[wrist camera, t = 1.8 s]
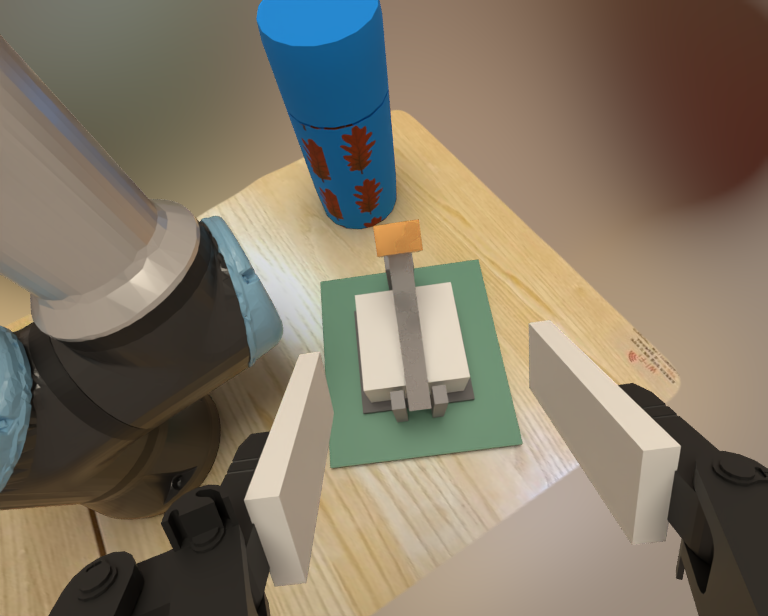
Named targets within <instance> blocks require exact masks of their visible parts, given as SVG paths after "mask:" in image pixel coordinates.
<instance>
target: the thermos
mask: <svg viewBox="0 0 768 616" xmlns="http://www.w3.org/2000/svg"><path fill="white" fill-rule="evenodd" d="M257 24H258V28H259V32H260V36H261V40H262V43H263V46H264V49H265V51H266V54H267V57H268V60H269V62H270V65H271V68H272V70H273V73H274V76H275V79H276V82H277V84H278V87H279V90H280V93H281V95H282V98H283V100H284V104H285V106H286V109H287V112H288V115H289V117H290V120H291V123H292V125H293V128H294V131H295V134H296V137H297V139H298V142H299V145H300V147H301V150H302V153H303V156H304V158H305V161H306V164H307V167H308V169H309V172H310V175H311V178H312V180H313V183H314V186H315V189H316V191H317V193H318V196H319V198H320V200H321V203H322V205H323V207H324V209H325V211H326V214H327V216H328V217H329V218H330V219H331V220H332V221H334V222H335V223H336V224H338V225H340V226H343V227H345V228H352V229H362V228H367V227H371V226H374V225H376V224H377V223H379V222H381V221H383V220H384V219H385V218H386V217H387V216H388V215H389V214H390V213H391V211H392V210H393V207H394V205H395V202H396V172H395V160H394V148H393V136H392V124H391V113H390V101H389V90H388V78H387V65H386V54H385V42H384V31H383V19H382V11H381V6H380V1H379V0H262V2H261V3H260V4H259V6H258V12H257Z"/></svg>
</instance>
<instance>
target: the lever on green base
mask: <svg viewBox="0 0 768 616" xmlns="http://www.w3.org/2000/svg"><path fill="white" fill-rule="evenodd" d="M411 258H412V253H411ZM384 261H385V269H386V273H379V274H372V275H365V276H358V277H351V278H344V279H337V280H330V281H323V282H321V301H322V319H323V338H324V356H325V375H326V380H327V385H328V389H329V394H330V398H331V403H332V407H333V411H334V416H333V422H332V428H331V434H330V440H329V449H330V468H339V467H347V466H355V465H363V464H371V463H379V462H387V461H395V460H403V459H411V458H419V457H427V456H435V455H443V454H451V453H459V452H467V451H475V450H483V449H491V448H499V447H507V446H515V445H521V444H523V443H522V439H521V435H520V430H519V426H518V422H517V418H516V414H515V410H514V405H513V401H512V397H511V393H510V389H509V385H508V381H507V376H506V372H505V368H504V364H503V360H502V356H501V352H500V347H499V343H498V339H497V335H496V331H495V327H494V322H493V318H492V314H491V310H490V306H489V302H488V298H487V293H486V289H485V285H484V281H483V277H482V273H481V269H480V264H479V260H471V261H464V262H457V263H450V264H443V265H436V266H429V267H422V268H415V269H414V265H413V259H412V266H413V273H414V281H415V288H416V296H417V303H418V311H419V318H420V326H421V333H422V341H423V348H424V356H425V363H426V371H427V378H428V386H429V393H430V401H431V409H423V410H415V411H409V404H408V397H407V389H406V382H405V375H404V368H403V361H402V354H401V346H400V339H399V332H398V325H397V318H396V310H395V303H394V296H393V289H392V282H391V275H390V267H389V260H388V256H384Z"/></svg>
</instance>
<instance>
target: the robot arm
mask: <svg viewBox="0 0 768 616" xmlns="http://www.w3.org/2000/svg"><path fill="white" fill-rule="evenodd" d="M0 274H1V275H2V276H4V277H5V278H7V279H9V280H10V281H12V282H14V283H15V284H17V285H19V286H20V287H22V288H23V289H25V290H27V291H28V292H30V296H31V298H30V299H31V314H32V318H33V321H34V322H33V323H31V324H29V325H28V326H26V327H24V328H23V329H21V330H18V331H15V332H12V331H11V330H9V329H7V328H5V327H2V326H0V510H9V509H22V508H35V507H47V506H60V505H73V504H81V505H84V506H86V507H88V508H90V509H92V510H94V511H97V512H99V513H101V514H103V515H105V516H108V517H111V518H116V519H140V518H147V517H152V516H156V515H159V514H162V513H165V514H164V517H163V519H162V522H161V525H162V527H163V529H164V531H165V533H166V535H167V537H168V539H169V541H170V544H171V546H172V548H173V549H171V550H169V551H167V552H165V553H163V554H160V555H158V556H155V557H152V558H150V559H147V560H145V561H142V562H140V563H137V564H136V562H135V560H134V558H133V556H132V555H131V554H129V553H127V552H125V551H123V552H113V553H110V554H107V555H105V556H102V557H100V558H98V559H96V560H95V561H93V562H92V563H90V564H88V565H87V566H85V567H84V568H83V569H82V570H81V571H80V572H79V573H78V574H77V575H75V576H74V577H73V578H72V580H71V581H70V582H69V584H68V585H67V586H66V587H65V589H64V590H63V592H62V593H61V595H60V597H59V598H58V600H57V602H56V604H55V605H54V607H53V609H52V610H51V612H50V614H49V616H270V610H269V603H268V600H267V597H266V595H265V592H264V590H265V586H266V582H267V578H268V574H269V572H270V574H271V577H272V580H273V583H274V586H284V585H293V584H301V583H306V582H307V576H308V570H309V563H310V557H311V551H312V545H313V539H314V533H315V527H316V520H317V514H318V508H319V502H320V496H321V490H322V484H323V477H324V471H325V465H326V459H327V453H328V447H329V440H330V434H331V428H332V422H333V416H334V411H333V407H332V403H331V398H330V394H329V389H328V385H327V380H326V376H325V372H324V367H323V363H322V358H321V354H320V352H313V353H305V354H299V357H298V360H297V362H296V365H295V368H294V370H293V373H292V375H291V378H290V381H289V383H288V386H287V389H286V391H285V394H284V396H283V399H282V402H281V404H280V407H279V410H278V412H277V415H276V417H275V420H274V423H273V425H272V428H271V431H270V432H262V433H255V434H251V435H250V436H249V437H248V438H247V439H246V440H245V441H244V442H243V443H242V444H241V445H240V446H239V448H238V450H237V452H236V454H235V456H234V458H233V460H232V461H233V463H231V465H230V467H229V469H228V471H227V475H225V478H224V480H223V482H222V484H221V486H219V485H205V486H202V487H199V486H200V484H201V483H202V482H203V480H204V479H205V477H206V476H207V474H208V473H209V471H210V469H211V467H212V465H213V462H214V460H215V457H216V454H217V451H218V446H219V441H220V421H219V415H218V412H217V409H216V406H215V404H214V402H213V400H212V398H211V397H210V396H209V394H208V393H210V392H211V391H213V390H214V389H216V388H217V387H219V386H220V385H222V384H224V383H225V382H227V381H228V380H230V379H231V378H233V377H234V376H236V375H237V374H239V373H240V372H242V371H243V370H245V369H246V368H248V367H251V366H253V365H254V363H255V362H256V360H257V359H258V358H260V357H261V356H262V355H264V354H265V353H266V352H268V351H269V350H270V349H272V348H273V347H274V346H275V345H276V344H277V343H278V342H279V341H280V339H281V337H282V334H283V325H282V321H281V319H280V317H279V314H278V312H277V310H276V308H275V306H274V304H273V303H272V301H271V299H270V297H269V295H268V293H267V292H266V290H265V288H264V286H263V284H262V283H261V281H260V279H259V278H258V276H257V275H256V274H255V271H254V269H253V267H252V266H251V264H250V262H249V260H248V258H247V256H246V255H245V253H244V251H243V249H242V248H241V246H240V244H239V243H238V241H237V239H236V238H235V236H234V235H233V233H232V231H231V230H230V228H229V227H228V225H227V224H226V222H225V221H224V220H223V219H222V218H221V217H219V216H213V217H210V218H203V219H202V220H201V221H200V222H199V221H198V220H197V219H196V217H195V216H194V215H193V214H192V213H191V212H190V211H189V210H188V209H187V208H186V207H184V206H183V205H181V204H180V203H176V202H174V201H169V200H160V199H148V197H147V196H146V195H145V194H144V193H143V192H142V191H141V190H140V189H139V187H138V186H137V185H136V184H135V183H134V182H133V181H132V180H131V179H130V178H129V176H128V175H127V174H126V173H125V172H124V171H123V170H122V169H121V168H120V166H119V165H118V164H117V163H116V162H115V161H114V160H113V159H112V158H111V157H110V155H109V154H108V153H107V152H106V151H105V150H104V149H103V148H102V147H101V146H100V144H99V143H98V142H97V141H96V140H95V139H94V138H93V137H92V136H91V134H90V133H89V132H88V131H87V130H86V129H85V128H84V127H83V126H82V125H81V123H80V122H79V121H78V120H77V119H76V118H75V117H74V116H73V114H71V112H70V111H69V110H68V109H67V108H66V107H65V106H64V105H63V103H62V102H61V101H60V100H59V99H58V98H57V97H56V96H55V95H54V93H52V91H51V90H50V89H49V88H48V87H47V86H46V85H45V83H44V82H42V80H41V79H40V78H39V77H38V76H37V75H36V74H35V72H34V71H33V70H32V69H31V68H30V67H29V66H28V65H27V64H26V62H25V61H24V60H23V59H22V58H21V57H20V56H19V55H18V54H17V53H16V51H15V50H14V49H13V48H12V47H11V46H10V45H9V44H8V43H7V41H6V40H5V39H4V38H3V37H2V36H1V35H0ZM529 388H530V389H531V391H532V392H533V394H534V395H535V397H536V399H537V400H538V402H539V403H540V405H541V406H542V408H543V409H544V411H545V412H546V414H547V415H548V417H549V418H550V420H551V422H552V423H553V425H554V426H555V428H556V429H557V431H558V432H559V434H560V435H561V437H562V438H563V440H564V441H565V443H566V444H567V446H568V448H569V449H570V451H571V452H572V454H573V455H574V457H575V458H576V460H577V461H578V463H579V464H580V466H581V467H582V469H583V471H584V472H585V474H586V475H587V477H588V478H589V480H590V481H591V483H592V484H593V486H594V487H595V489H596V490H597V492H598V494H599V495H600V497H601V498H602V500H603V501H604V503H605V504H606V506H607V507H608V509H609V510H610V512H611V513H612V515H613V517H614V518H615V520H616V521H617V523H618V524H619V526H620V527H621V529H622V530H623V532H624V533H625V535H626V536H627V538H628V539H629V541H630V543H631V544H632V545H637V544H645V543H654V542H663V541H666V536H667V529H668V523H670V524H671V525H672V527H673V528H674V529H675V530H676V532H677V533H678V534H679V535H680V537H681V538H682V539H681V545H680V551H679V556H678V561H677V567H676V578H677V579H681V580H682V579H683V574H684V569H685V571H686V574H687V578H688V581H689V585H690V588H691V591H692V594H693V598H694V601H695V604H696V608H697V611H698V615H699V616H768V468H766V467H764V466H763V465H761V464H760V463H758V462H756V461H755V460H752V459H750V458H747V457H745V456H742V455H740V454H735V453H731V452H726V451H719V450H718V449H717V448H716V447H714V446H713V445H712V444H711V443H710V442H709V441H708V440H706V439H705V438H704V437H703V436H702V435H701V434H700V433H698V432H697V431H696V430H695V429H694V428H693V427H691V426H690V425H689V424H688V423H687V422H686V421H685V420H683V419H682V418H681V417H680V416H677V414H676V413H675V412H674V411H673V410H672V409H671V408H670V407H668V406H666V405H665V403H664V402H663V401H662V400H660V399H659V398H658V397H657V396H656V395H655V394H653V393H652V392H650V391H648V390H646V389H644V388H642V387H640V386H638V385H636V384H634V383H630V384H623V385H617V384H616V383H615V382H614V381H613V380H612V379H611V378H610V377H609V376H608V375H607V374H605V373H604V372H603V371H602V370H601V369H600V368H599V367H598V366H597V365H596V364H595V363H594V362H593V361H592V360H591V359H590V358H589V357H588V356H587V355H586V354H585V353H584V352H583V351H582V350H581V349H580V348H578V347H577V346H576V345H575V344H574V343H573V342H572V341H571V340H570V339H569V338H568V337H567V336H566V335H565V334H564V333H563V332H562V331H561V330H560V329H559V328H558V327H557V326H556V325H555V324H554V323H552V322H551V321H550V320H547V321H540V322H533V323H529Z"/></svg>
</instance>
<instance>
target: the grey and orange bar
mask: <svg viewBox="0 0 768 616" xmlns="http://www.w3.org/2000/svg"><path fill="white" fill-rule="evenodd" d="M373 228H374V235H375V242H376V249H377V257H384V256H388V260H389V267H390V275H391V282H392V289H393V296H394V303H395V310H396V318H397V325H398V332H399V339H400V346H401V354H402V361H403V368H404V375H405V382H406V389H407V397H408V404H409V411H415V410H423V409H431V401H430V393H429V386H428V378H427V371H426V363H425V356H424V348H423V341H422V333H421V326H420V318H419V311H418V303H417V296H416V288H415V281H414V273H413V266H412V258H411V253H412V252H419V251H422V250H423V248H422V241H421V233H420V225H419V219H418V220H411V221H404V222H397V223H390V224H384V225H377V226H373Z"/></svg>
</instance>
